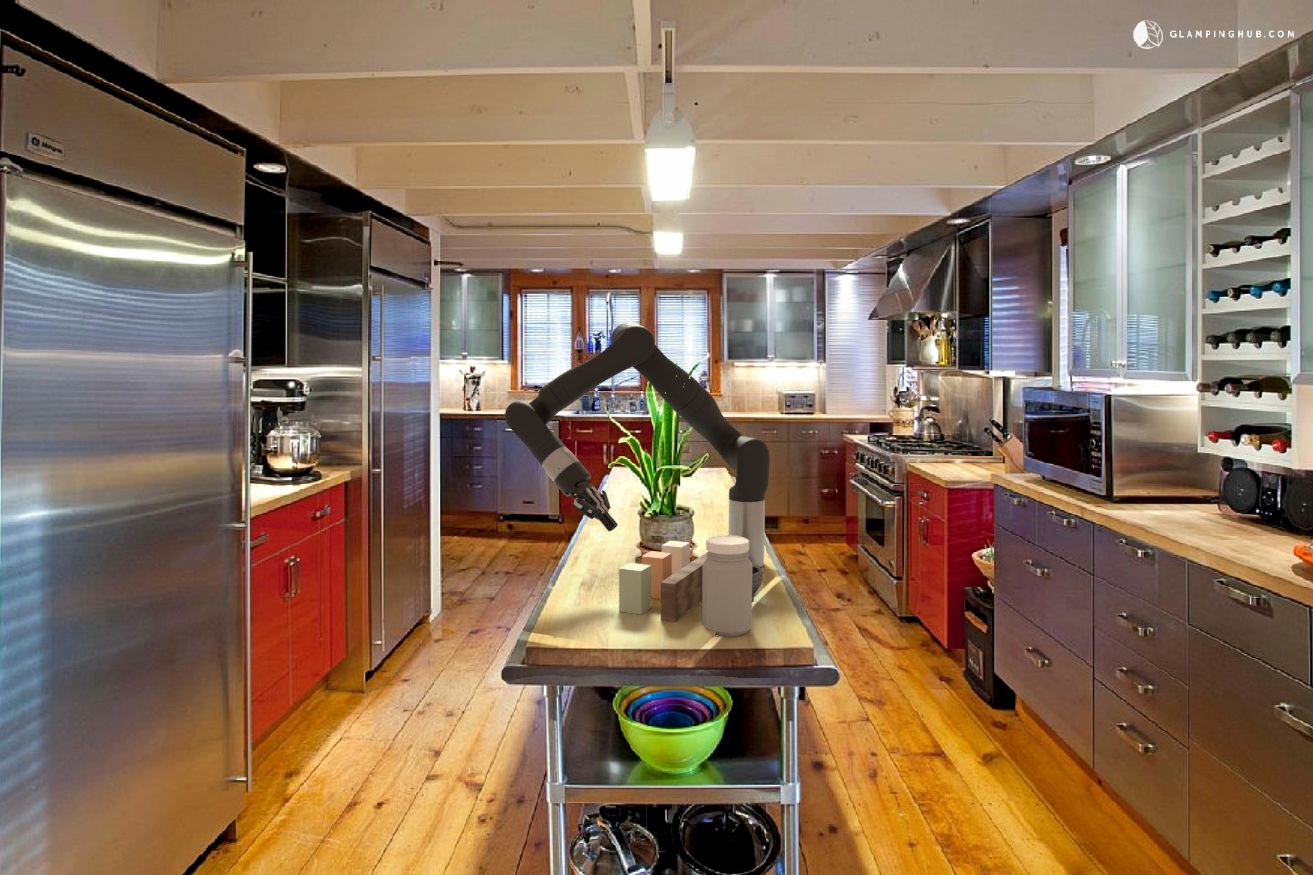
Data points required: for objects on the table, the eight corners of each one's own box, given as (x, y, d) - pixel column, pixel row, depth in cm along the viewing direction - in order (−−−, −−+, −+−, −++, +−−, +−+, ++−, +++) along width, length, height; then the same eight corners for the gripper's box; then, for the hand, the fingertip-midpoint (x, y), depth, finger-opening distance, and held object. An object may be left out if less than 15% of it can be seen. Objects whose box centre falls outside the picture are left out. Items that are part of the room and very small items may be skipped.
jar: (747, 621, 156) (748, 534, 155) (755, 638, 147) (756, 545, 145) (699, 621, 156) (700, 534, 154) (704, 638, 146) (705, 545, 145)
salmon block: (651, 590, 173) (651, 550, 172) (671, 592, 171) (671, 553, 170) (641, 596, 168) (641, 556, 168) (662, 599, 166) (662, 558, 166)
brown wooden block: (655, 579, 186) (655, 542, 185) (723, 587, 179) (724, 550, 178) (596, 616, 159) (596, 574, 158) (674, 628, 152) (674, 583, 151)
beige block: (670, 577, 183) (670, 540, 182) (689, 580, 181) (689, 542, 180) (661, 583, 178) (661, 545, 178) (681, 585, 176) (681, 547, 176)
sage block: (629, 604, 163) (629, 562, 162) (651, 607, 161) (651, 565, 160) (619, 611, 158) (618, 568, 158) (641, 614, 156) (641, 571, 156)
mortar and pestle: (716, 593, 175) (716, 541, 174) (757, 593, 175) (758, 541, 174) (721, 609, 164) (721, 554, 163) (765, 609, 164) (766, 554, 163)
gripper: (561, 463, 169) (610, 523, 165) (590, 457, 181) (637, 512, 177) (540, 485, 172) (589, 545, 168) (570, 478, 184) (616, 533, 180)
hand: (613, 528), depth 173 cm, fingers closed
